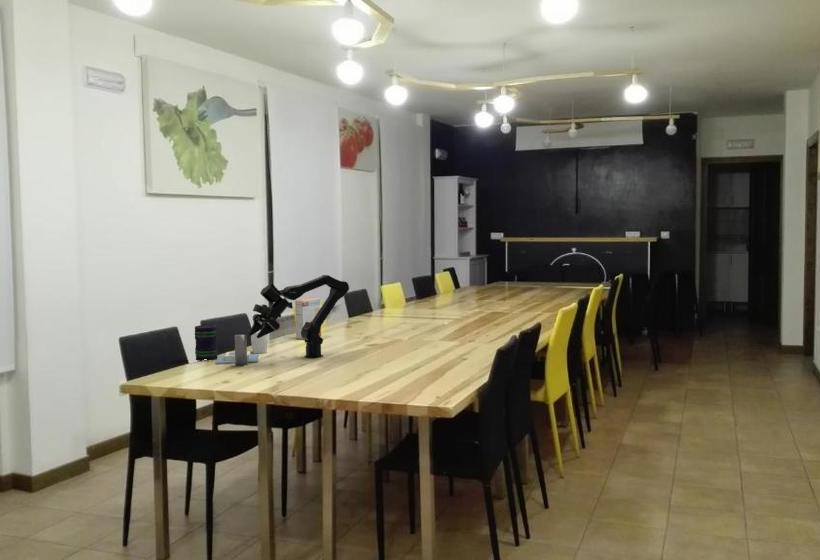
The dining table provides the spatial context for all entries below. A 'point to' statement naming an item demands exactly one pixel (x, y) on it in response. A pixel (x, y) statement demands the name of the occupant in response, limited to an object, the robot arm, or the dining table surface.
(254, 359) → the blue square board
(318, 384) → the dining table surface
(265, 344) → the white cup
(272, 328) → the robot arm
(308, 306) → the cracker box
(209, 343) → the storage jar
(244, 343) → the shaft
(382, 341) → the dining table surface
